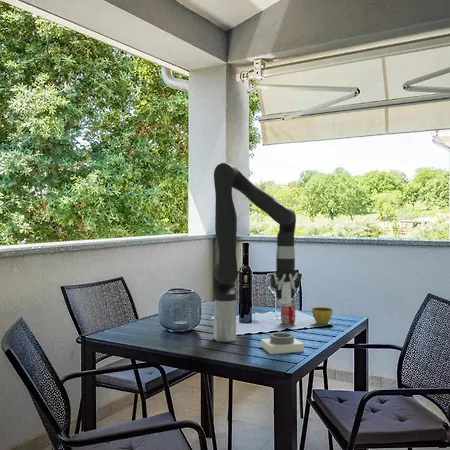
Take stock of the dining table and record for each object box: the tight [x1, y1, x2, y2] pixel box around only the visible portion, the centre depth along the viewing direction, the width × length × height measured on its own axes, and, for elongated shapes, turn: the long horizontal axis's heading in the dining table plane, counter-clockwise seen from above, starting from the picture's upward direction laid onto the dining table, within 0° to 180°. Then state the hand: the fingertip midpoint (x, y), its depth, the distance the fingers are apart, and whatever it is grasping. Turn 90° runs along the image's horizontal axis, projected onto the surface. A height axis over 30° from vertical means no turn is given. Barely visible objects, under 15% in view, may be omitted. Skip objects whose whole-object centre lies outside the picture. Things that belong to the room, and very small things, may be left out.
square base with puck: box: [260, 331, 305, 355], centre depth 188 cm, size 14×11×6 cm
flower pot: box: [311, 306, 333, 325], centre depth 233 cm, size 10×10×7 cm
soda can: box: [280, 298, 296, 325], centre depth 234 cm, size 7×7×12 cm
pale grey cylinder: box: [278, 281, 292, 307], centre depth 193 cm, size 5×5×10 cm
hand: (285, 298), depth 193 cm, fingers closed on pale grey cylinder, 5 cm apart
